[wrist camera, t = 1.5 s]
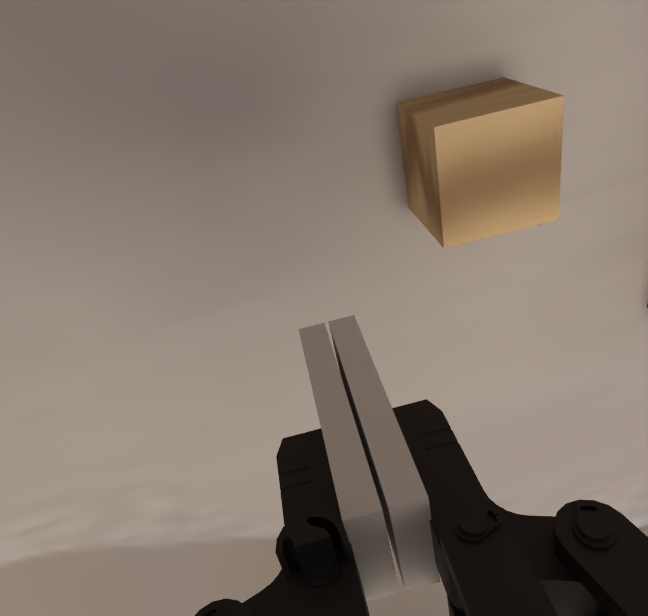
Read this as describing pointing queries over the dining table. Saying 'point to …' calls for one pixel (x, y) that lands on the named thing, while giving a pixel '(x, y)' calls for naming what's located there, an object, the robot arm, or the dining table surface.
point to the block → (482, 159)
